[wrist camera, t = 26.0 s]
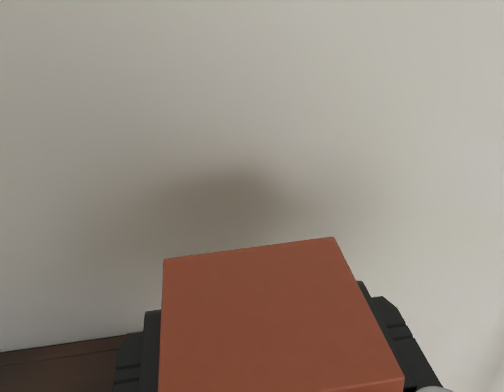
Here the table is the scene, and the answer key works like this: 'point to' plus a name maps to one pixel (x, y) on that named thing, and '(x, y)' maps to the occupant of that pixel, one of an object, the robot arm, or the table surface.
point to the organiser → (61, 367)
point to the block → (270, 323)
